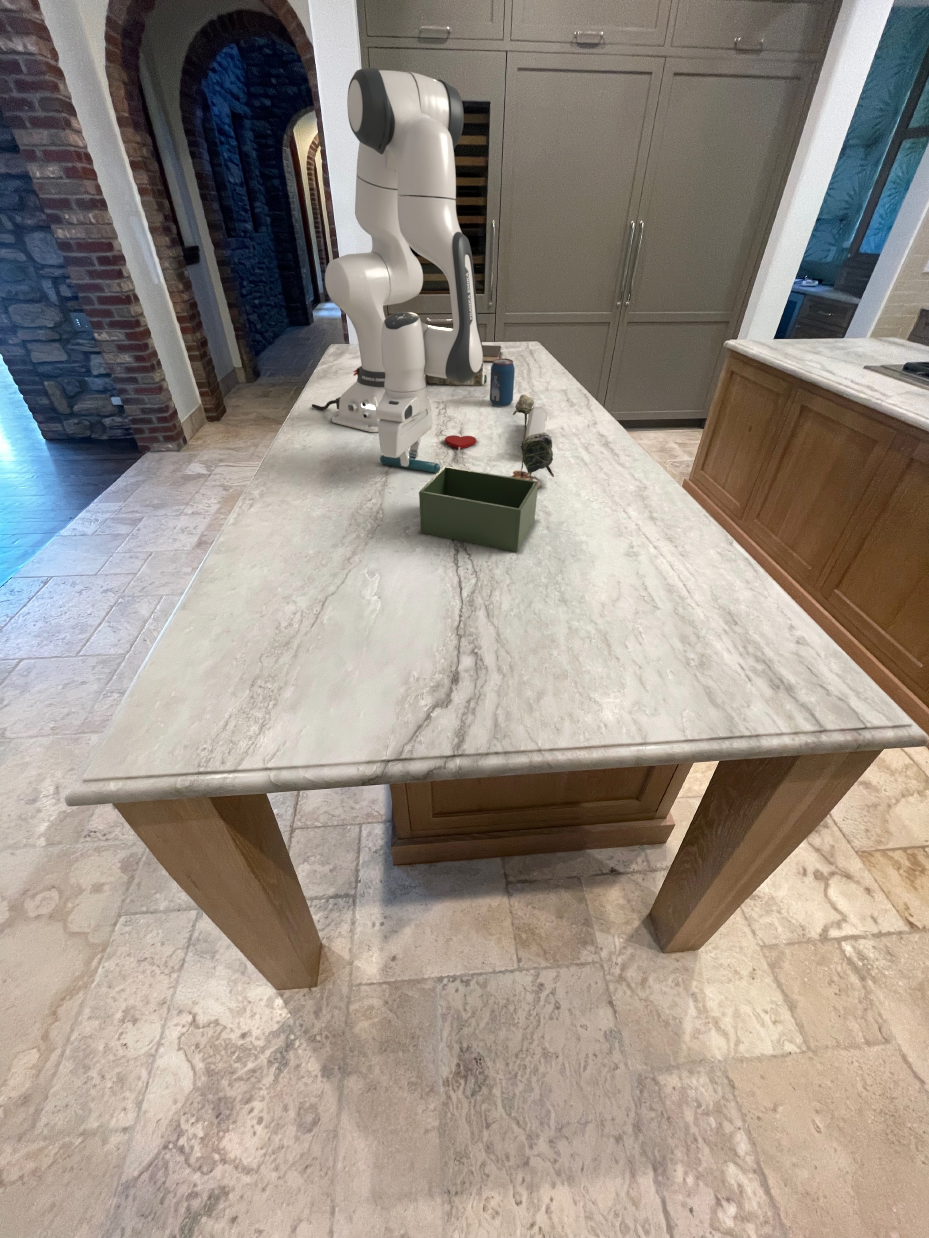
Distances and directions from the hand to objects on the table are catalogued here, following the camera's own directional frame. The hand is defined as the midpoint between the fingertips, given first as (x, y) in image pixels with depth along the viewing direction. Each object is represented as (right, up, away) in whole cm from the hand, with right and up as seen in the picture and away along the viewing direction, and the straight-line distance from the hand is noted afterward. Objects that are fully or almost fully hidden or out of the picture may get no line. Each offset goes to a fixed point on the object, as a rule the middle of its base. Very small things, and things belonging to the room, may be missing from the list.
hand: (409, 461), depth 124 cm
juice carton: (+10, +42, +54) cm, 70 cm away
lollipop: (+11, +5, +9) cm, 16 cm away
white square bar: (+31, +9, +14) cm, 35 cm away
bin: (+15, -19, -20) cm, 31 cm away
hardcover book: (+15, +64, +80) cm, 103 cm away
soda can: (+24, +28, +37) cm, 52 cm away
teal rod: (0, -1, +1) cm, 2 cm away
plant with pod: (+27, -7, -6) cm, 28 cm away
